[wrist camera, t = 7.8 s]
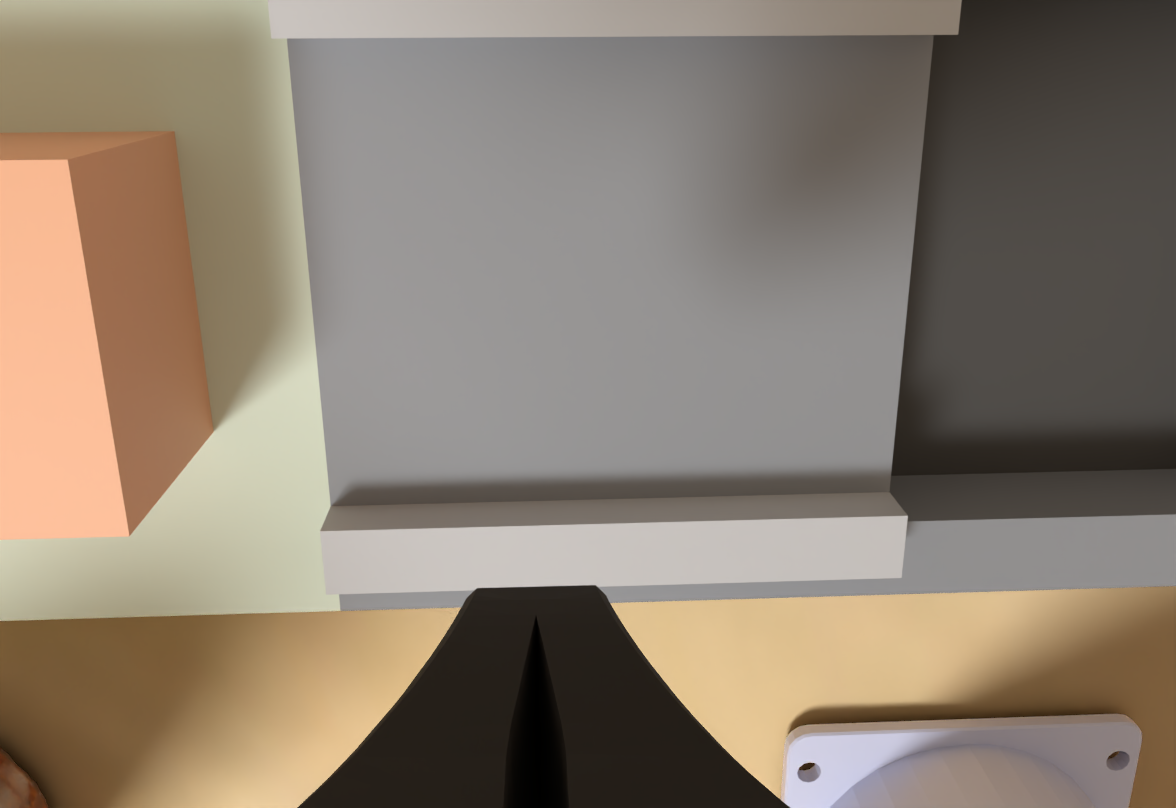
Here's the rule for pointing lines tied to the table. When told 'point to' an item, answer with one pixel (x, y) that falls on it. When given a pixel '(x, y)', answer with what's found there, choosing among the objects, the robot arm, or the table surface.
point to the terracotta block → (94, 333)
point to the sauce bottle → (17, 786)
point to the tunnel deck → (641, 296)
